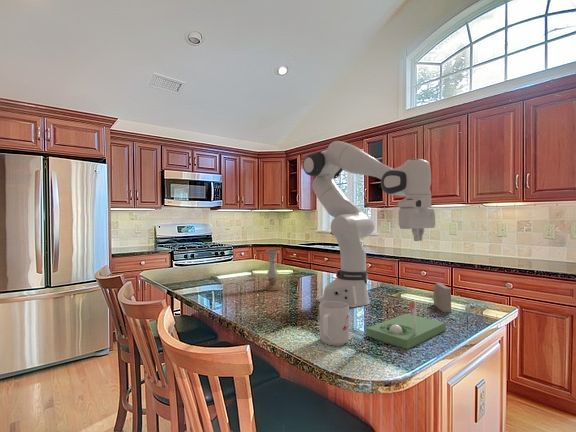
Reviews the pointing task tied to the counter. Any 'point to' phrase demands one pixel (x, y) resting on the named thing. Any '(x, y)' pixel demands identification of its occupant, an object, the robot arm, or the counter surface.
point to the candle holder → (272, 272)
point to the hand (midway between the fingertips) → (418, 241)
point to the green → (406, 329)
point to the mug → (334, 322)
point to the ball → (396, 329)
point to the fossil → (442, 297)
